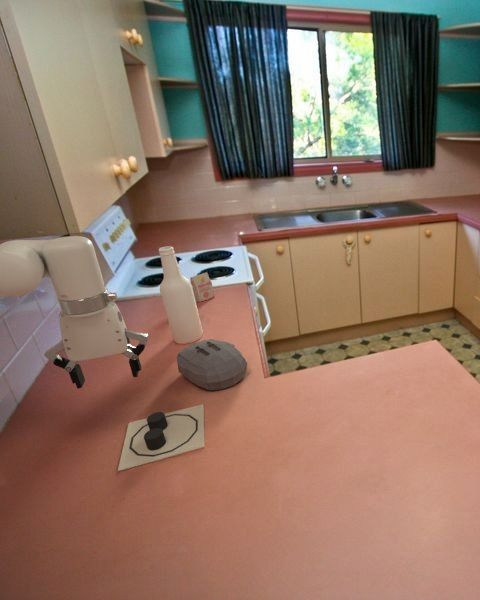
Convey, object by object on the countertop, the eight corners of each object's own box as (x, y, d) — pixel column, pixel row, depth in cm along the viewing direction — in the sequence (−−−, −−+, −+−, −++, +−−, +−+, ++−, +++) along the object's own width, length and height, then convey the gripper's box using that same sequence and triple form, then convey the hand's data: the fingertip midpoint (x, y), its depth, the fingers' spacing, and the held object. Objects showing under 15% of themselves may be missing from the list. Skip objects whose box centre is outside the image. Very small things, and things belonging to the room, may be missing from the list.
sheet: (118, 471, 85) (117, 470, 85) (129, 423, 98) (128, 422, 98) (204, 447, 91) (204, 445, 90) (203, 405, 104) (203, 403, 104)
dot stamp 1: (149, 434, 94) (145, 424, 93) (150, 425, 97) (147, 414, 96) (167, 430, 95) (163, 419, 94) (168, 420, 98) (165, 410, 97)
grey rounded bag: (171, 374, 117) (209, 402, 105) (164, 348, 113) (201, 373, 102) (222, 352, 127) (261, 374, 116) (216, 327, 124) (256, 348, 112)
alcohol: (167, 342, 134) (141, 251, 122) (188, 330, 141) (165, 242, 130) (189, 346, 131) (165, 253, 119) (209, 333, 139) (188, 244, 127)
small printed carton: (193, 300, 164) (187, 276, 160) (209, 295, 169) (204, 271, 165) (198, 302, 162) (193, 278, 158) (214, 297, 167) (209, 273, 163)
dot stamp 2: (146, 452, 89) (142, 441, 88) (148, 441, 92) (144, 430, 91) (165, 447, 90) (162, 436, 89) (166, 436, 93) (163, 426, 92)
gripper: (139, 289, 87) (158, 361, 93) (35, 302, 80) (63, 379, 87) (135, 302, 80) (155, 379, 87) (21, 318, 74) (52, 399, 81)
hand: (109, 379), depth 87 cm, fingers open, 9 cm apart
